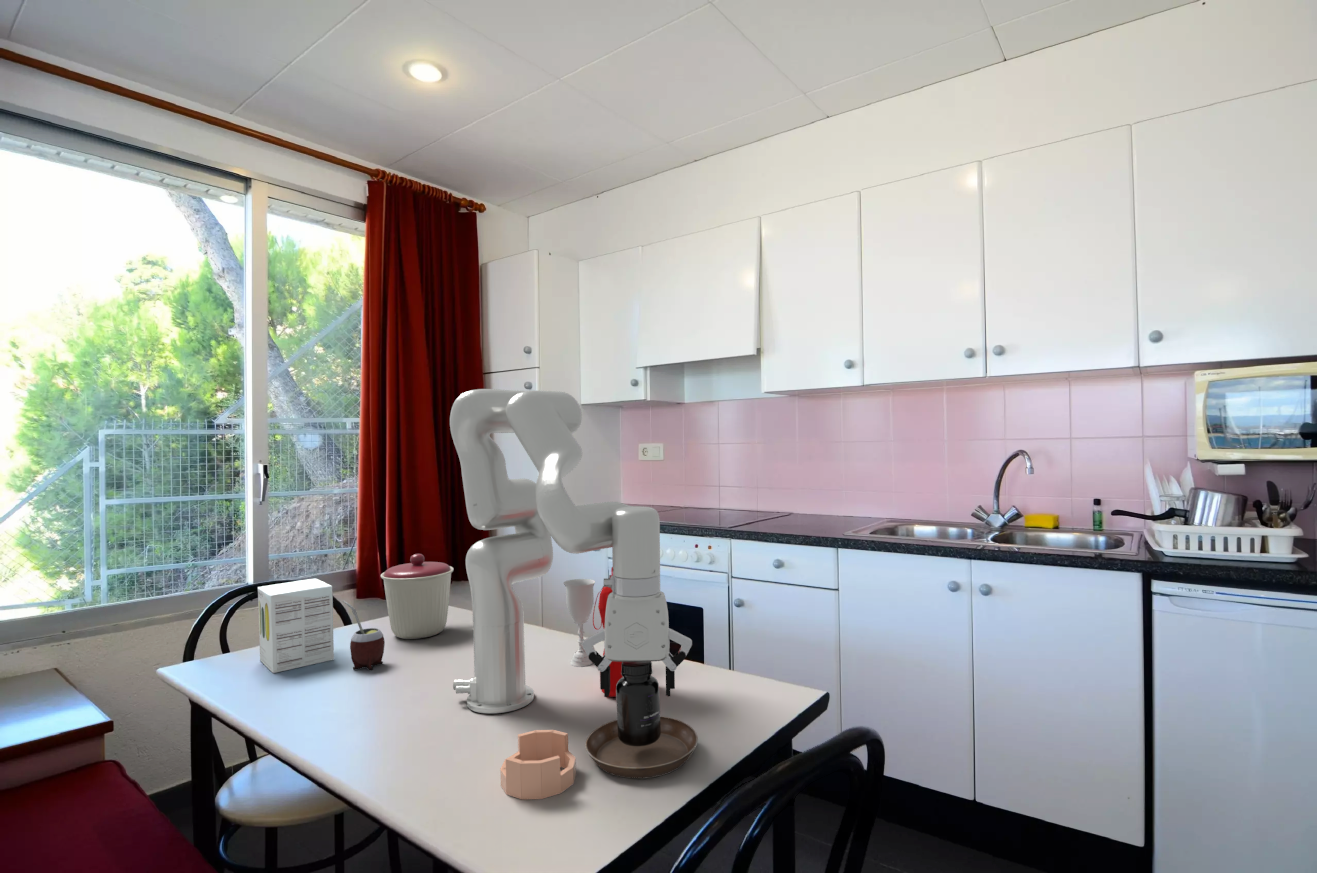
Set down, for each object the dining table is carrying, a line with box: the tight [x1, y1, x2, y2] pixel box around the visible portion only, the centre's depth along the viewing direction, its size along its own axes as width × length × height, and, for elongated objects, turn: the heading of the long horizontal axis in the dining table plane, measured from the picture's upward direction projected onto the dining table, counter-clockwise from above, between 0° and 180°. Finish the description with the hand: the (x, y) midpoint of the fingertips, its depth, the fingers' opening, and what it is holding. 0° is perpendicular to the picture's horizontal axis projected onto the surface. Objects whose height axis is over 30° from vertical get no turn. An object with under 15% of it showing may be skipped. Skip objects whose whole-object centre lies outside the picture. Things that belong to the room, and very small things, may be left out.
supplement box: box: [257, 577, 335, 674], centre depth 157 cm, size 13×13×18 cm
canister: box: [380, 553, 454, 640], centre depth 176 cm, size 18×18×21 cm
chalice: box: [563, 578, 596, 667], centre depth 149 cm, size 7×7×18 cm
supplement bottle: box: [615, 661, 661, 746], centre depth 105 cm, size 7×7×12 cm
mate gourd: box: [342, 599, 385, 672], centre depth 151 cm, size 8×8×15 cm
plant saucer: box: [584, 715, 699, 779], centre depth 105 cm, size 18×18×3 cm
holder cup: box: [499, 729, 577, 800], centre depth 98 cm, size 11×11×5 cm
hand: (637, 693), depth 106 cm, fingers open, 9 cm apart
